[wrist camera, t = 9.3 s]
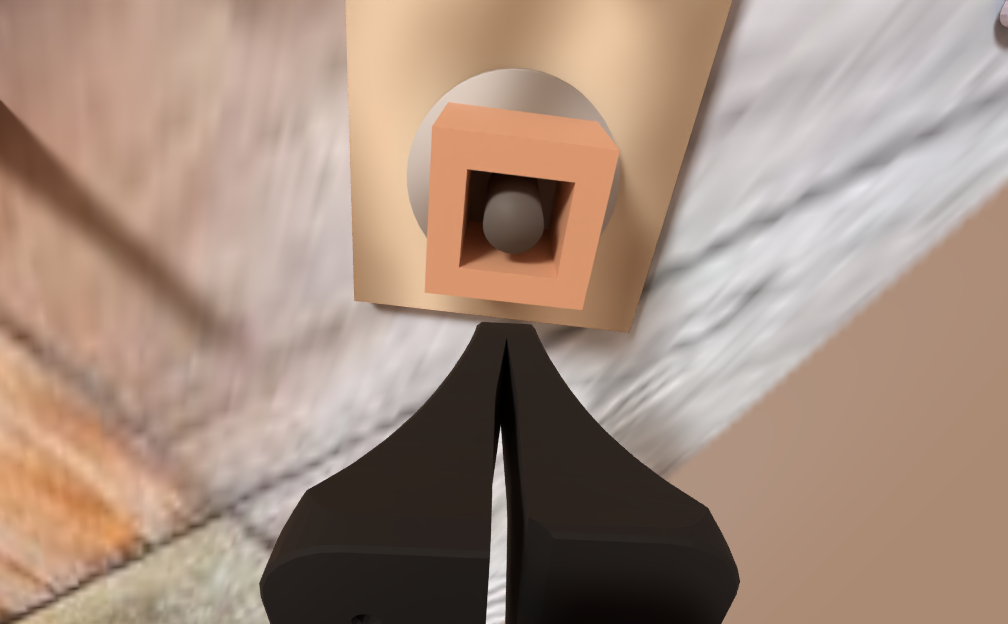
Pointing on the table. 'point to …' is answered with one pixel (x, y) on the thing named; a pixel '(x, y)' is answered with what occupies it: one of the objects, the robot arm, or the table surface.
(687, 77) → the board
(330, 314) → the table surface
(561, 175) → the collar
